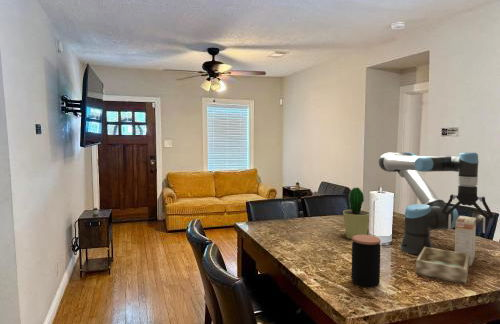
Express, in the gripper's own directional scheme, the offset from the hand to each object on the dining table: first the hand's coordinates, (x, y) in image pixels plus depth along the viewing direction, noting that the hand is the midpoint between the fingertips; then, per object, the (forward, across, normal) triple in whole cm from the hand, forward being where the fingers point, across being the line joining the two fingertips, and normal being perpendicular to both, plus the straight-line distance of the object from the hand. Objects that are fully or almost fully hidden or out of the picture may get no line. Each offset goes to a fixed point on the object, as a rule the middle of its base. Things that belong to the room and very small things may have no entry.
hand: (466, 230), depth 157 cm
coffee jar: (+15, -31, -53) cm, 63 cm away
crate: (+14, -7, -21) cm, 26 cm away
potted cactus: (+14, -54, +8) cm, 57 cm away
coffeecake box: (+14, 0, 0) cm, 15 cm away
